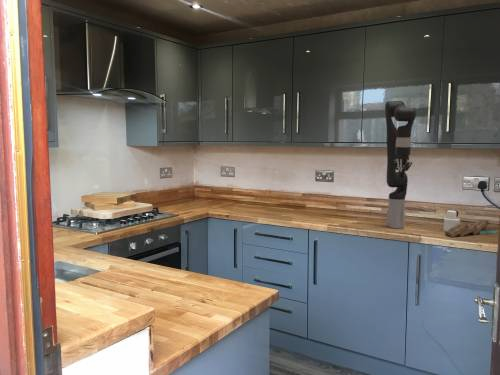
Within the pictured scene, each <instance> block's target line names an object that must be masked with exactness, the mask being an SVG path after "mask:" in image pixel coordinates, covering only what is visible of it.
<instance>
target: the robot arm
mask: <svg viewBox="0 0 500 375" xmlns="http://www.w3.org/2000/svg"><path fill="white" fill-rule="evenodd" d="M384 111H385V112H384V114H385V123H386V124H385V125H386V126H385V127H386V153H387V154H386V156H387V157H386V158H387V159H386V164H387V165H386V184H387V186H388V188H396V189H395V190H393V191H392V192H390V193H389V194H388V209H387V210H386V226H387V228H391V229H404V228H405V227H404V225H405V209H406V208H405V207H406V206H405V205H406V196H407V191H408V190H407V189H408V183H409V182H408V175H407V171H409V170H410V168H411V166H412V165H413V162H412V161H411V160H410V156H411V148H412V140H411V139H412V130H413V128H412V127H413V125H414V122H415V119H416V116H417V111H416V109H415V108H414V107H406V103H405V102H404V101H403V100H388V101H386V102H385V105H384ZM393 118H394V119H395V121H397V122H407V123H406V124H404V125H401V126H398V127H396V126H395V123H394V121H393Z"/></svg>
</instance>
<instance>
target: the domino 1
mask: <svg viewBox="0 0 500 375" xmlns="http://www.w3.org/2000/svg"><path fill="white" fill-rule="evenodd" d="M466 229H468V223H467V224H466V223H462V222H460V223H459V224H457V225H455V226H454V227H452V228H451V229H449V230H447V231H444V234H445V236H446V237H451V238H455V237H457V235H458V234H460V233H461V232H463V231H465V230H466Z"/></svg>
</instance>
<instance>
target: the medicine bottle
mask: <svg viewBox="0 0 500 375" xmlns="http://www.w3.org/2000/svg"><path fill="white" fill-rule="evenodd" d="M459 223H461V218H459V211H458V210H456V209H448V210H446V217H445V218H443V231H444V232H446V231H447V230H449V229H451V228H452V227H454V226H455V225H457V224H459Z"/></svg>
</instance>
